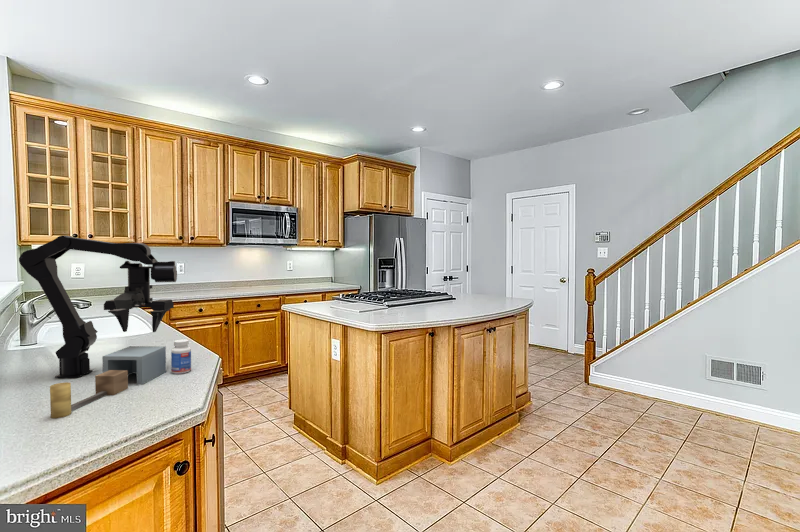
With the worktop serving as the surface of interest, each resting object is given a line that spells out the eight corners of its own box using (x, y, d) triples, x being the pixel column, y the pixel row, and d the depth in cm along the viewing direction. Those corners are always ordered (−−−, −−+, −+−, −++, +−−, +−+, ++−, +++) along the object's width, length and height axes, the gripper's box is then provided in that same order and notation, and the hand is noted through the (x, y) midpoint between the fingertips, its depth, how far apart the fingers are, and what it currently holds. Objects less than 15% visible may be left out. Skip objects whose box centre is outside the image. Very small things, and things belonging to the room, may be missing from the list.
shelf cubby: (103, 384, 111) (102, 356, 110) (130, 371, 122) (130, 346, 122) (142, 384, 111) (141, 356, 110) (166, 371, 122) (165, 346, 122)
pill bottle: (182, 374, 120) (181, 343, 119) (167, 373, 121) (166, 342, 120) (195, 369, 125) (194, 339, 125) (180, 368, 126) (180, 338, 126)
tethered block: (43, 417, 89) (42, 387, 88) (110, 387, 108) (110, 362, 108) (64, 418, 88) (63, 388, 88) (128, 388, 108) (127, 363, 107)
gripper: (89, 284, 115) (90, 337, 116) (153, 285, 115) (153, 337, 116) (116, 281, 126) (116, 329, 127) (174, 282, 127) (174, 330, 127)
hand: (139, 331), depth 124 cm, fingers open, 9 cm apart
